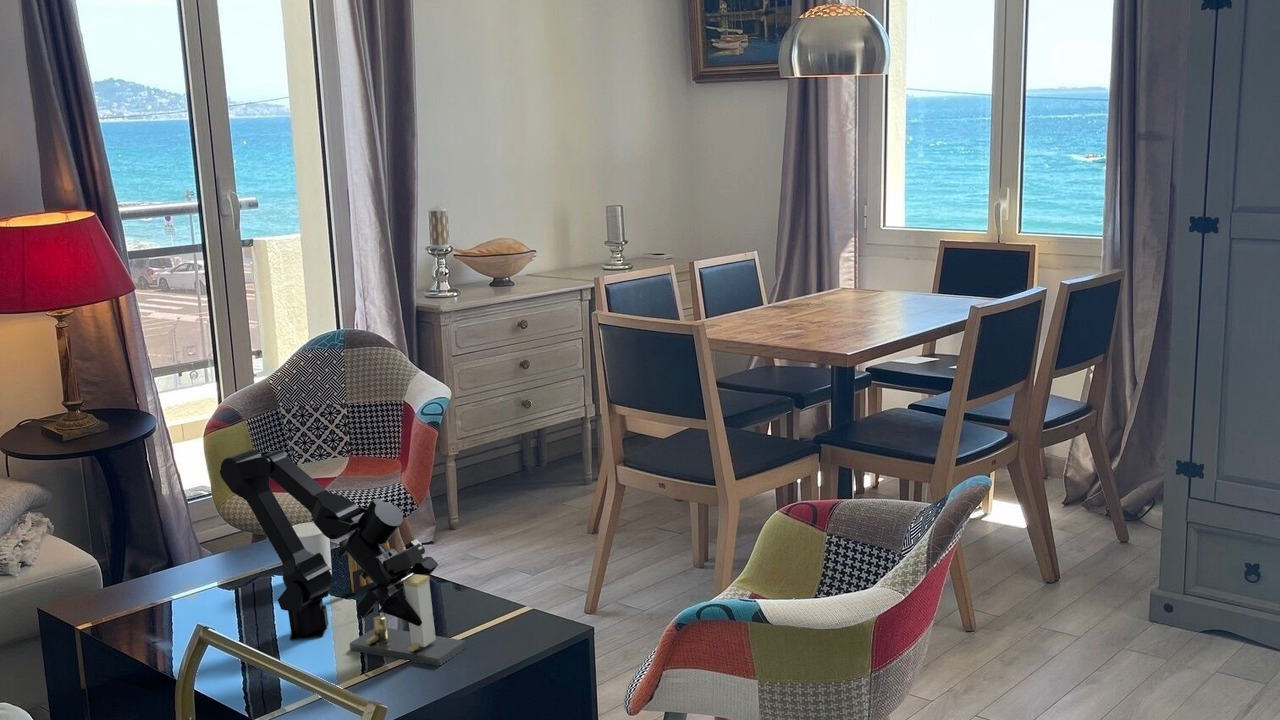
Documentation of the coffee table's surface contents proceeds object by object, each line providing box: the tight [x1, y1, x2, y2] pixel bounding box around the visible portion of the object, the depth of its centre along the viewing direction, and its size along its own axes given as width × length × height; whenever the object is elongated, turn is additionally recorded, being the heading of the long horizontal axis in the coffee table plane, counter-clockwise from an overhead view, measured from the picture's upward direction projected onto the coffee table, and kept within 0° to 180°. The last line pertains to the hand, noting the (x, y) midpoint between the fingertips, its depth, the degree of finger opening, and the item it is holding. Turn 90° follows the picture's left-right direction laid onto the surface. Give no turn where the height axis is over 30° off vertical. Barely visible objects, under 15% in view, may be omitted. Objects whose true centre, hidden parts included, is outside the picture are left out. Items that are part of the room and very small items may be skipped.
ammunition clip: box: [347, 540, 391, 595], centre depth 256 cm, size 11×2×12 cm, turn 139°
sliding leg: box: [403, 574, 436, 652], centre depth 220 cm, size 3×6×13 cm, turn 153°
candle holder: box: [292, 521, 333, 576], centre depth 262 cm, size 10×10×12 cm
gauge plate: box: [349, 615, 467, 667], centre depth 223 cm, size 21×8×6 cm, turn 63°
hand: (427, 620), depth 220 cm, fingers closed on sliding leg, 3 cm apart
